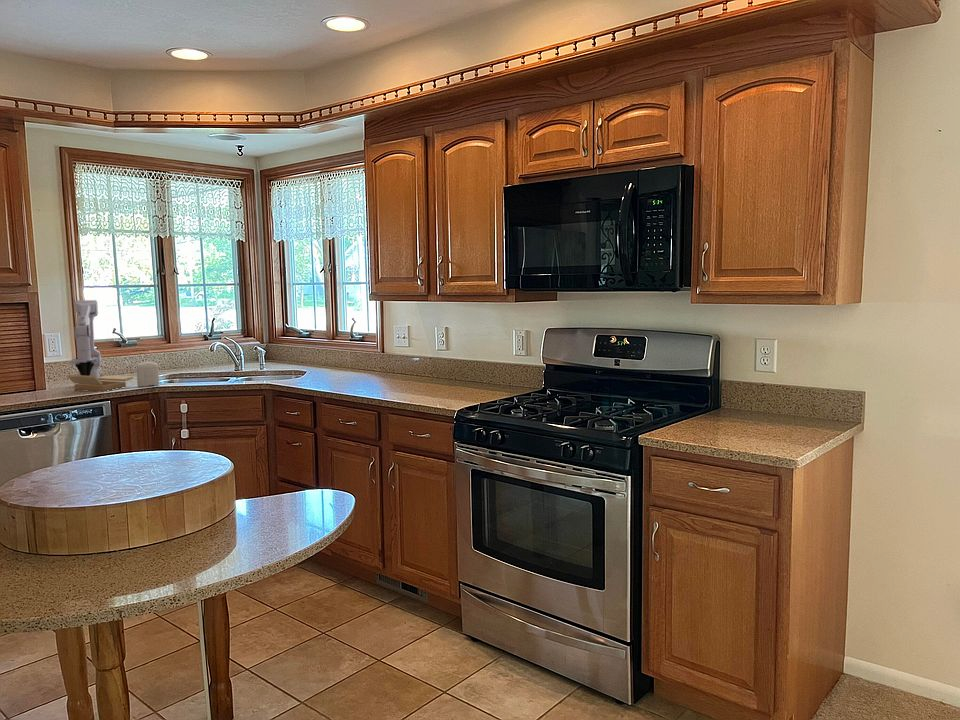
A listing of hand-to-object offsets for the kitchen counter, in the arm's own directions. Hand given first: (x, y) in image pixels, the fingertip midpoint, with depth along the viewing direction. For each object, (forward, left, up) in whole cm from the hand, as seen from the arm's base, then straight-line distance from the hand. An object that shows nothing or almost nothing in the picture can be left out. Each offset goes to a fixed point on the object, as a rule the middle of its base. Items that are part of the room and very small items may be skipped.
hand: (85, 377), depth 357 cm
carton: (0, +8, -7) cm, 11 cm away
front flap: (0, 0, 0) cm, 1 cm away
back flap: (0, +18, -2) cm, 18 cm away
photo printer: (+15, +24, -7) cm, 30 cm away
